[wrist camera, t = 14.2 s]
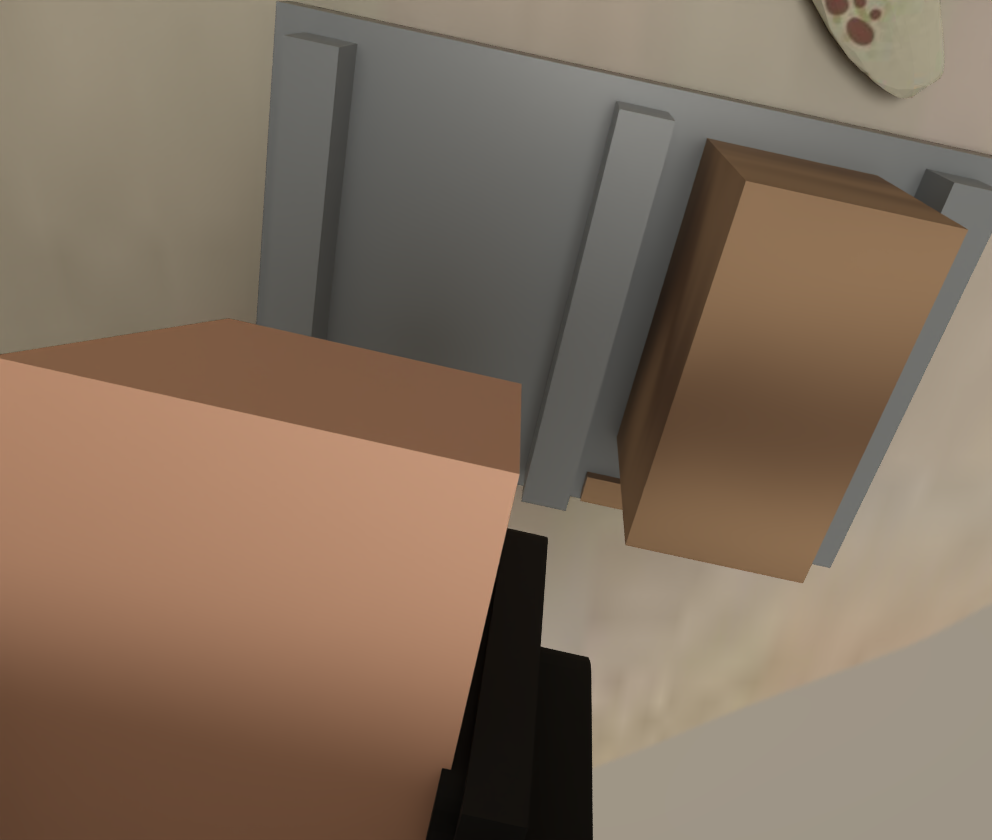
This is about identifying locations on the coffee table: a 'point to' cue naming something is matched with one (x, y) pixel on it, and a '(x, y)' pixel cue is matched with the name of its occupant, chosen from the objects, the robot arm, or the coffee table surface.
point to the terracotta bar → (241, 583)
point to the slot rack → (531, 222)
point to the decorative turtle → (889, 40)
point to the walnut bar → (773, 355)
